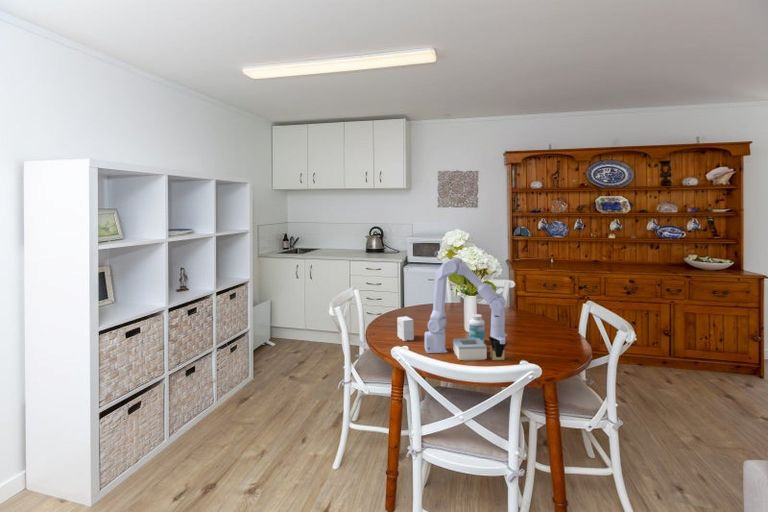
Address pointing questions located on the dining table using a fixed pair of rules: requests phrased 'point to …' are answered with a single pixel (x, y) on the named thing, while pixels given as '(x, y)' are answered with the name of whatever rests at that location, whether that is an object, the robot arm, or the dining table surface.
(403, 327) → the small box
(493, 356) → the tan green block
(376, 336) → the dining table surface
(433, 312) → the robot arm
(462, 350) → the money box
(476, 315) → the pill bottle
